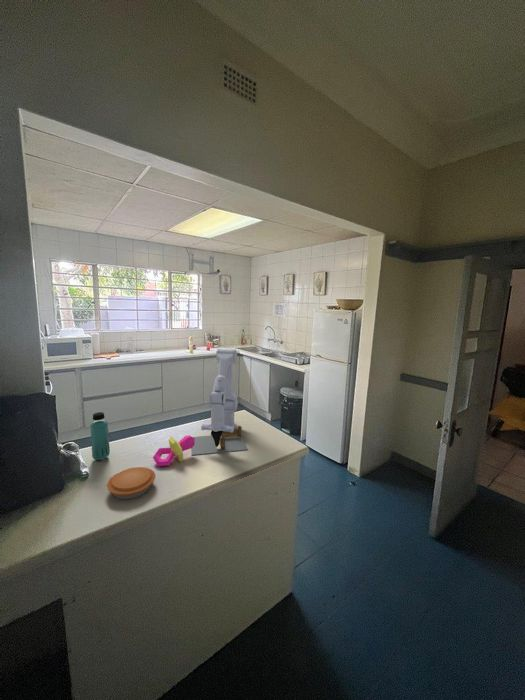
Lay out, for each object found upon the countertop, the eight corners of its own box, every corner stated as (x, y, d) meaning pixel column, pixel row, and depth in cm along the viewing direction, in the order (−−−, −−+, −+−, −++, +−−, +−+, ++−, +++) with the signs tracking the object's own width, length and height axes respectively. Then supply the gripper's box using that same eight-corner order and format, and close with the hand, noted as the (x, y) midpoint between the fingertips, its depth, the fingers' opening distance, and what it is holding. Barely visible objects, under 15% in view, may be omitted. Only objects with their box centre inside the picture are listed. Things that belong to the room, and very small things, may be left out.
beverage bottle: (102, 464, 113) (99, 417, 110) (88, 462, 114) (85, 415, 111) (113, 456, 119) (111, 411, 116) (100, 454, 120) (97, 409, 117)
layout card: (191, 437, 138) (191, 436, 138) (240, 433, 144) (240, 432, 144) (191, 455, 122) (191, 454, 122) (247, 449, 128) (247, 448, 128)
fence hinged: (216, 439, 136) (216, 430, 135) (220, 438, 137) (220, 429, 136) (221, 449, 126) (221, 439, 126) (225, 448, 127) (225, 439, 126)
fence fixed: (214, 438, 139) (214, 427, 138) (240, 435, 142) (241, 425, 141) (215, 440, 136) (215, 429, 135) (241, 437, 140) (241, 427, 139)
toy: (151, 459, 119) (147, 445, 113) (189, 437, 129) (188, 423, 123) (162, 477, 113) (158, 464, 107) (201, 453, 123) (200, 439, 117)
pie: (163, 490, 98) (162, 477, 98) (115, 511, 88) (114, 496, 87) (146, 471, 110) (145, 459, 109) (101, 487, 99) (101, 474, 98)
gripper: (199, 419, 122) (198, 448, 124) (231, 421, 121) (230, 451, 123) (204, 413, 129) (204, 441, 131) (234, 415, 128) (234, 443, 130)
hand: (217, 445), depth 128 cm, fingers closed
